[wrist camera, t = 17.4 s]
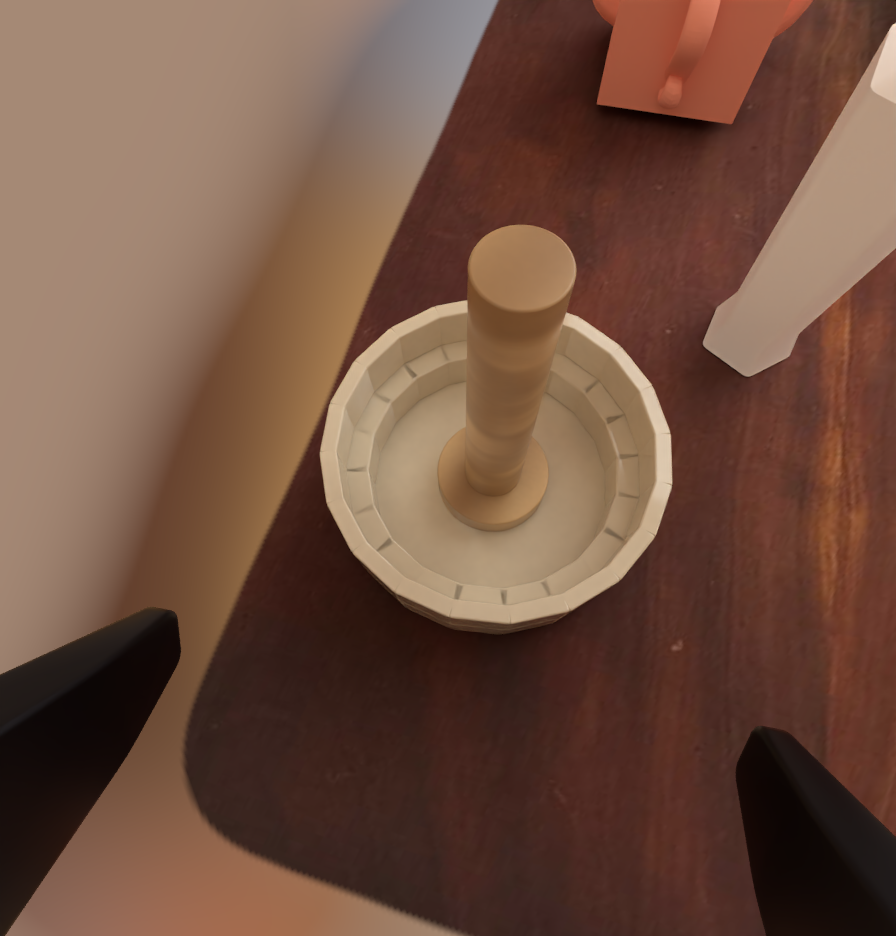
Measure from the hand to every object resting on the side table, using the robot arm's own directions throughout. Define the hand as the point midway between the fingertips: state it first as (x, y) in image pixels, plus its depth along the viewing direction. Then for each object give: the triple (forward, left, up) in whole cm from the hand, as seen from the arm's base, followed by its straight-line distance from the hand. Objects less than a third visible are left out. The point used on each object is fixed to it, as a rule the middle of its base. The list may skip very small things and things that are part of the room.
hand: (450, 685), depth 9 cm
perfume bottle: (+6, -19, -14) cm, 24 cm away
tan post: (+6, -5, -13) cm, 15 cm away
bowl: (+6, -5, -14) cm, 16 cm away
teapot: (+22, -27, -14) cm, 37 cm away
